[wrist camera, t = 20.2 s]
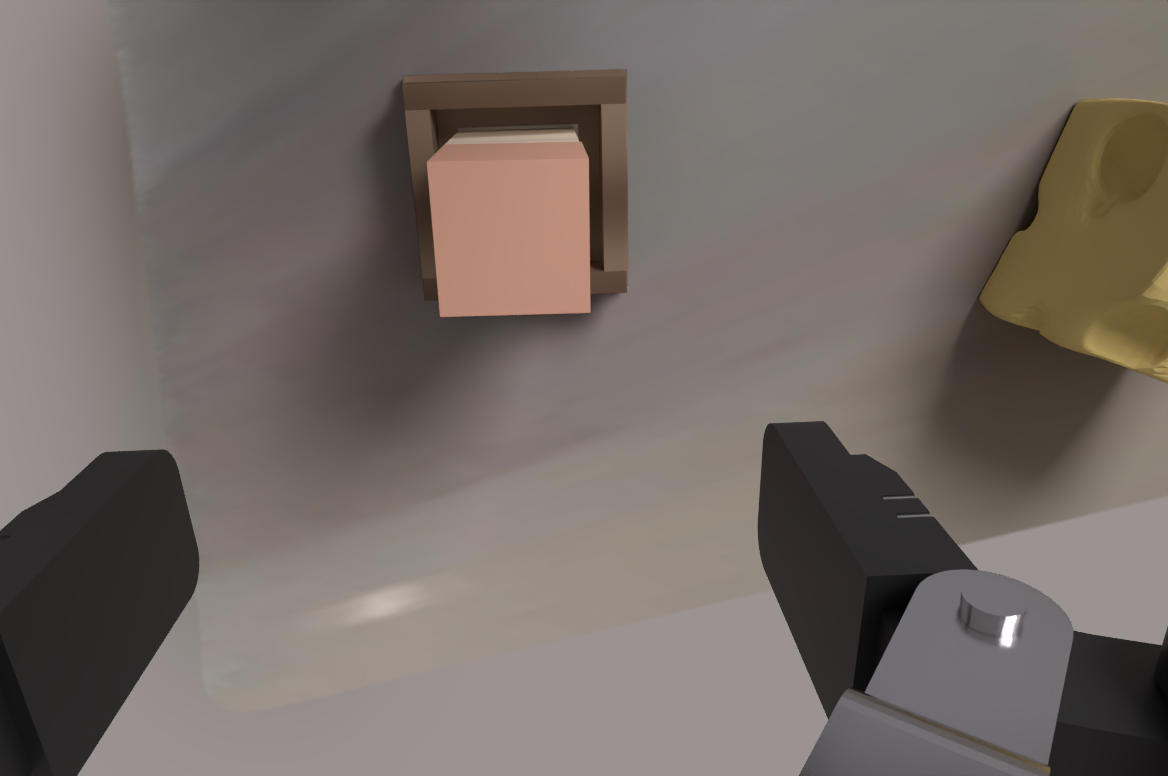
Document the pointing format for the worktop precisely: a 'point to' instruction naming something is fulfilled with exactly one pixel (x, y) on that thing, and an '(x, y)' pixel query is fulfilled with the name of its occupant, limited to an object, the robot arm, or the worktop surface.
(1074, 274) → the cheese
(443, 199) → the top block
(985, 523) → the worktop surface
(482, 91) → the socket board
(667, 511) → the worktop surface
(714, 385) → the worktop surface
